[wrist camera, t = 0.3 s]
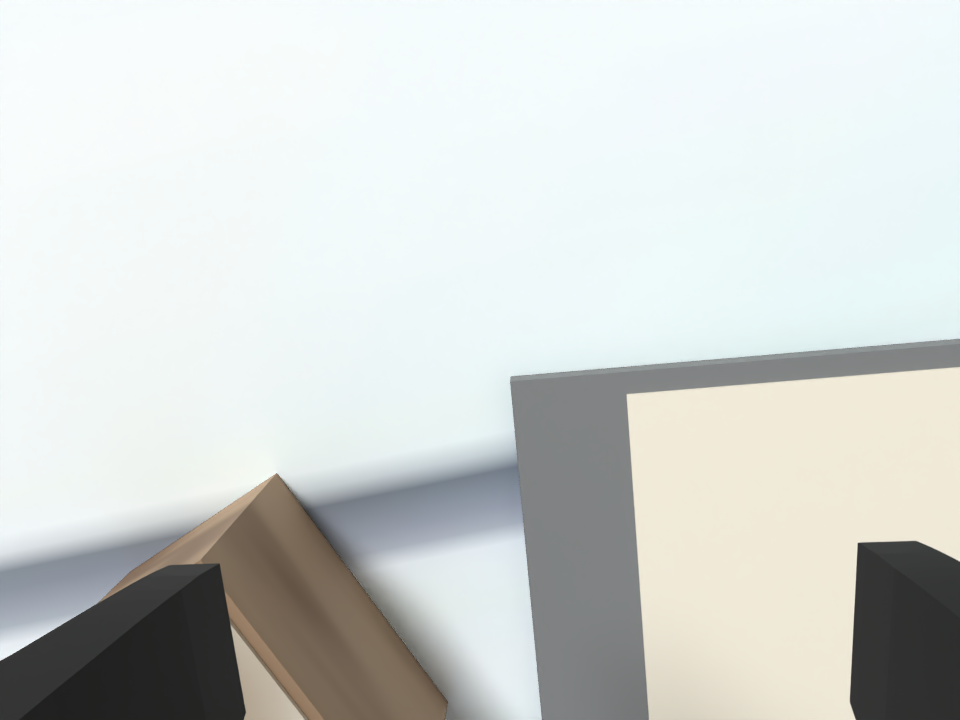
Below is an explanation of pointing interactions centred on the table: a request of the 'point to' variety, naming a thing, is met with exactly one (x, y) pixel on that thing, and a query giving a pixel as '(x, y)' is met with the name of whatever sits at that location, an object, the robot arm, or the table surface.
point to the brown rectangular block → (300, 618)
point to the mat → (725, 523)
